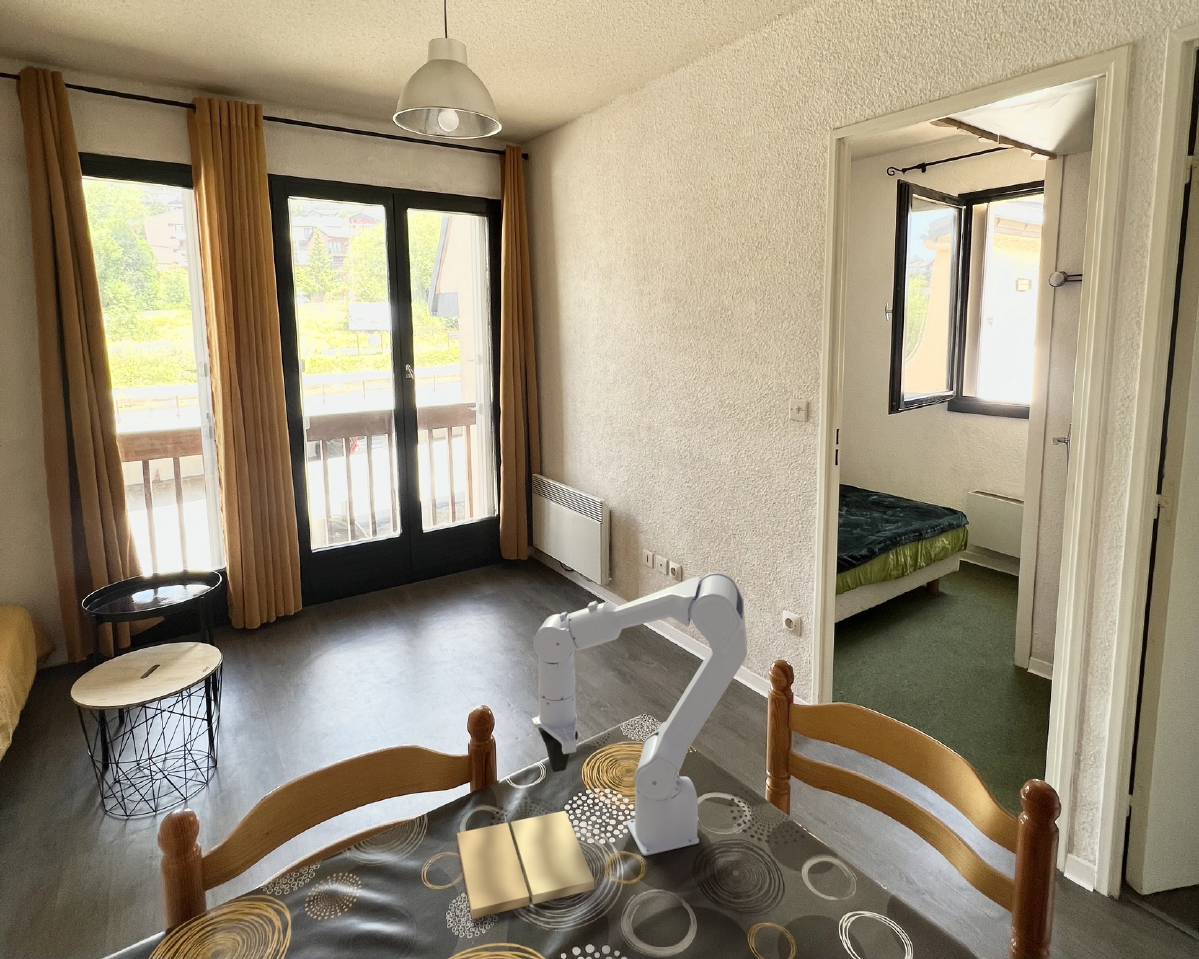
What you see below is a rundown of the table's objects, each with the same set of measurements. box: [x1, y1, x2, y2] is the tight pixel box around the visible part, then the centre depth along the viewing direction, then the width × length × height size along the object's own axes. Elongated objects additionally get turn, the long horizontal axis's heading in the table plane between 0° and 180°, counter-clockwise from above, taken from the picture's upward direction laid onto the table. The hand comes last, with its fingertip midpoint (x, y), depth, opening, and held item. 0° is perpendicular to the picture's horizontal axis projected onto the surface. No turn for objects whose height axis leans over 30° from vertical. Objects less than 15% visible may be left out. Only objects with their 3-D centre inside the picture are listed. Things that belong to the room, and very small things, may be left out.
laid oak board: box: [456, 822, 530, 920], centre depth 111 cm, size 8×16×2 cm, turn 18°
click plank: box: [510, 810, 595, 905], centre depth 113 cm, size 9×16×2 cm, turn 18°
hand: (558, 768), depth 120 cm, fingers closed
